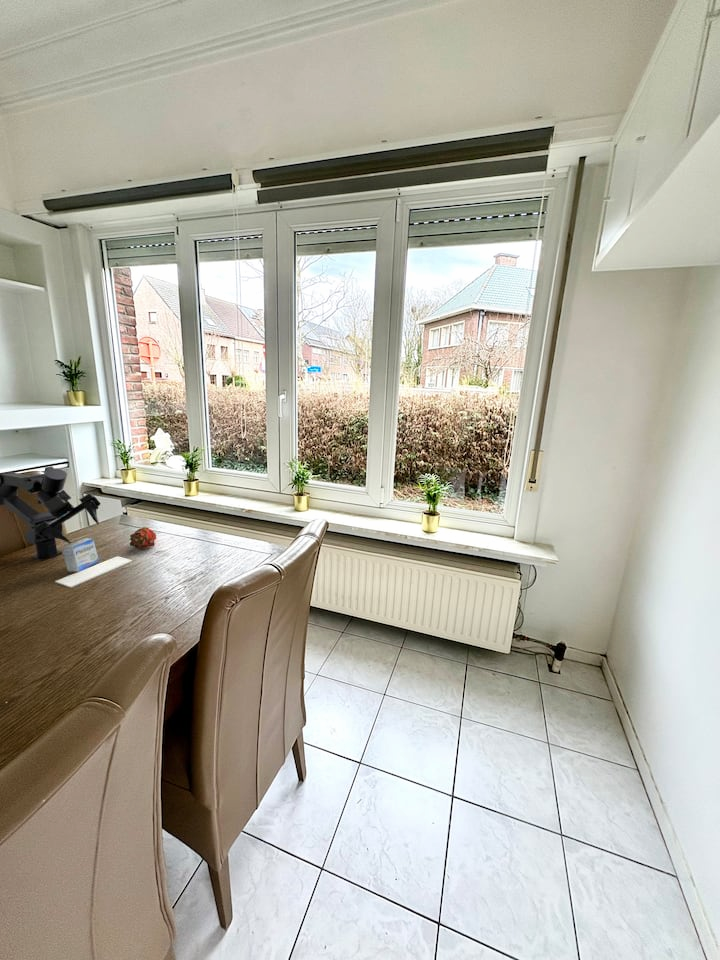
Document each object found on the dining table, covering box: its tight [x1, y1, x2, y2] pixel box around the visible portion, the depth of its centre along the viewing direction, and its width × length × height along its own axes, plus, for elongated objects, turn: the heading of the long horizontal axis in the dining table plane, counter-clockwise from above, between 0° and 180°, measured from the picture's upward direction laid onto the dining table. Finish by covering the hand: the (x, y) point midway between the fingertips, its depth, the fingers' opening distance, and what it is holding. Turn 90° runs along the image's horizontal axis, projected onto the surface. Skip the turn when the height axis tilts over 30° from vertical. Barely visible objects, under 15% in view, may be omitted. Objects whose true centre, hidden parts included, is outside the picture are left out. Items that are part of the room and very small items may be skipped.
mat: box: [54, 555, 133, 589], centre depth 125 cm, size 8×20×1 cm, turn 157°
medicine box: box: [61, 537, 100, 573], centre depth 126 cm, size 8×4×9 cm, turn 169°
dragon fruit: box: [129, 526, 157, 551], centre depth 143 cm, size 8×8×12 cm
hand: (84, 532), depth 123 cm, fingers open, 9 cm apart
